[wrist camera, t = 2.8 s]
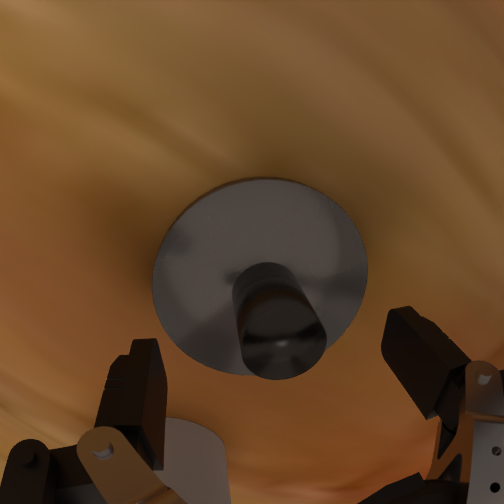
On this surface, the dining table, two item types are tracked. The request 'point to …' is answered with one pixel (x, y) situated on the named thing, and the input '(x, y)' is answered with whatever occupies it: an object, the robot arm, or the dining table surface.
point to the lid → (259, 277)
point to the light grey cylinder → (194, 463)
